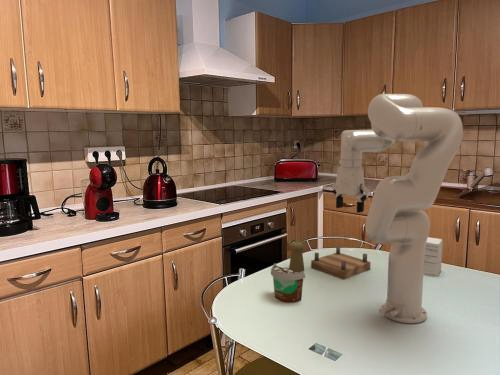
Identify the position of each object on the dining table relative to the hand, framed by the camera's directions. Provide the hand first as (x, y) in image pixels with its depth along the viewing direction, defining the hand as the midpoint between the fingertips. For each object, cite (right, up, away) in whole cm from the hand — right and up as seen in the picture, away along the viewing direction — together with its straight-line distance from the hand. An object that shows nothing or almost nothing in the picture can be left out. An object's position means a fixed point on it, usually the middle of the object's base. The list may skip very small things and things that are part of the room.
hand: (349, 209), depth 147 cm
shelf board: (-2, -23, +7) cm, 24 cm away
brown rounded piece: (-19, -24, +6) cm, 31 cm away
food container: (-26, -28, -20) cm, 43 cm away
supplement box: (+30, -24, +2) cm, 39 cm away
